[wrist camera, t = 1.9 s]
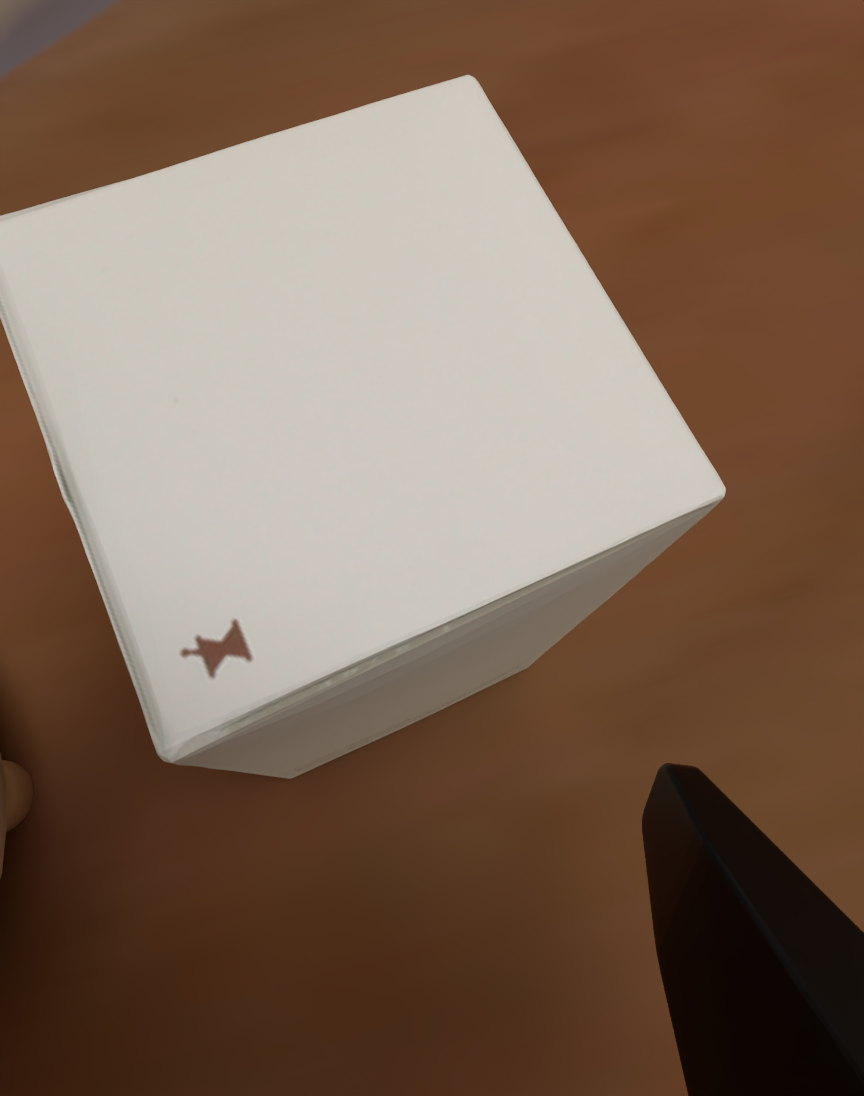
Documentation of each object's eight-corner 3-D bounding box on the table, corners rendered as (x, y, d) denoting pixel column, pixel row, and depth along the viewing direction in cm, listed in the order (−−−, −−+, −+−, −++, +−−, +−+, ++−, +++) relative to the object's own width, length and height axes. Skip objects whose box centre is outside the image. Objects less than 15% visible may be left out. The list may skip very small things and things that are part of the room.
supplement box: (538, 668, 21) (757, 510, 9) (283, 785, 20) (136, 786, 8) (427, 440, 23) (484, 54, 11) (186, 534, 21) (-59, 210, 9)
